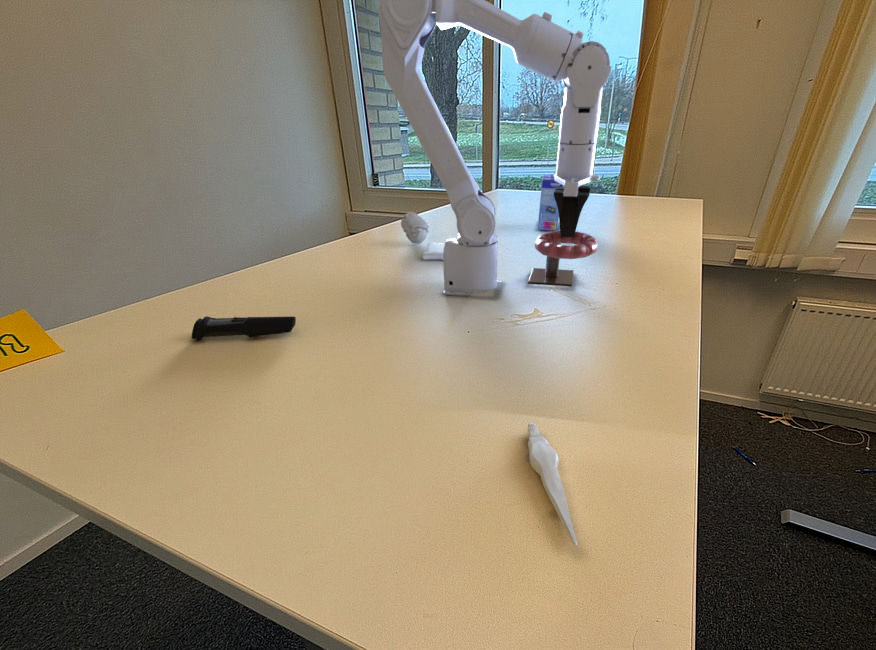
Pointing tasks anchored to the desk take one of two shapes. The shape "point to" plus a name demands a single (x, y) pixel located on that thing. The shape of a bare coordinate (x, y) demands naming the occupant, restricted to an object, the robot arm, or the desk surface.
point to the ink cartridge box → (548, 204)
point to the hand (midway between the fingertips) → (567, 234)
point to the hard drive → (434, 251)
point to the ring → (580, 250)
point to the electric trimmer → (242, 326)
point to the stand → (551, 274)
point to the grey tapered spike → (549, 476)
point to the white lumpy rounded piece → (414, 227)
